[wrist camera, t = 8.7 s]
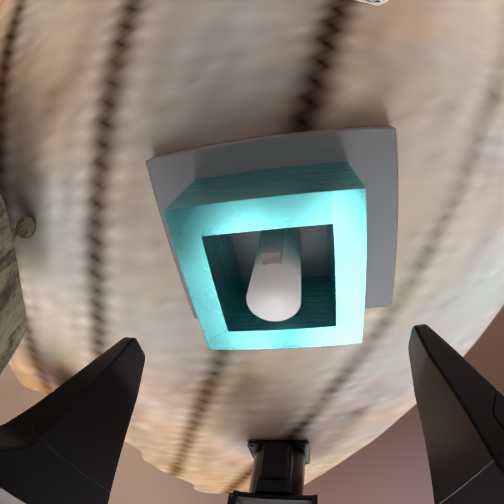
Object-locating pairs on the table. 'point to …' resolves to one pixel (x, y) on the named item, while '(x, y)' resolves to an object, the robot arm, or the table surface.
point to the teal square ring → (265, 218)
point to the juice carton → (373, 2)
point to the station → (295, 238)
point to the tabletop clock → (11, 286)
